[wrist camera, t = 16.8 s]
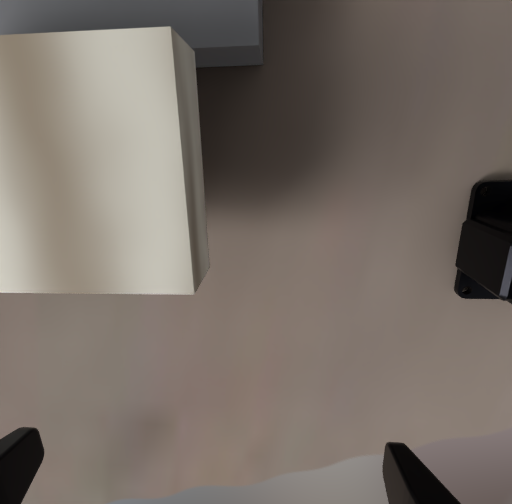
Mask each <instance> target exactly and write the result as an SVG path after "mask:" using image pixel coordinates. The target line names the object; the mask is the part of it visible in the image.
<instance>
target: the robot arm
mask: <svg viewBox="0 0 512 504" xmlns="http://www.w3.org/2000/svg"><path fill="white" fill-rule="evenodd" d="M484 187H486V188H487V191H486V193H485V194H484V195H481V190H482V188H484ZM456 267H457V268H458V269H457V275H456V280H455V286H454V291H455V292H456V294H457V295H459V296H460V297H461V298H465V299H501V300H504V301H508V302H509V303H511V304H512V180H490V181H479V182H477V183H476V184H475V185H474V186H473V188H472V190H471V195H470V201H469V207H468V212H467V218H466V221H465V222H464V223H463V224H462V230H461V236H460V241H459V247H458V253H457V259H456ZM467 286H468V289H467V290H466V291H463V292H462V290H463V288H464V287H467ZM43 457H44V448H43V444H42V441H41V437H40V434H39V431H38V430H37V429H36V428H30V427H22V428H18V429H17V430H15V431H13V432H12V433H10V434H8V435H7V436H5V437H3V438H2V439H0V504H21V502H22V500H23V498H24V497H25V495H26V493H27V491H28V489H29V487H30V485H31V483H32V481H33V479H34V477H35V475H36V473H37V471H38V469H39V467H40V465H41V463H42V460H43ZM383 478H384V482H385V487H386V492H387V497H388V501H389V504H461V503H460V502H459V501H458V500H457V499H456V498H455V497H454V496H453V495H452V494H451V493H450V492H449V490H448V489H447V488H445V486H444V485H443V484H442V483H441V482H440V481H439V480H438V479H437V478H436V477H435V476H434V474H433V473H432V472H431V471H430V470H429V469H428V468H427V467H426V466H425V465H424V464H423V463H422V462H421V461H420V460H419V459H418V457H417V456H416V455H415V454H414V453H413V452H412V451H411V450H410V449H409V448H408V447H407V446H406V445H405V444H404V443H398V442H388V443H386V446H385V452H384V460H383Z"/></svg>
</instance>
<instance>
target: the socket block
mask: <svg viewBox="0 0 512 504" xmlns="http://www.w3.org/2000/svg"><path fill="white" fill-rule="evenodd" d="M168 26H171V27H172V28H173V29H174V31H175V32H176V33H177V34H178V35H179V36H180V37H181V38H182V39H183V40H184V41H185V42H186V43H187V44H188V45H189V46H190V47H191V48H192V49H193V50H194V52H195V65H196V68H198V67H222V66H246V65H263V15H262V0H0V35H11V34H31V33H50V32H70V31H90V30H109V29H129V28H149V27H168Z"/></svg>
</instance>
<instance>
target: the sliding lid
mask: <svg viewBox="0 0 512 504" xmlns="http://www.w3.org/2000/svg"><path fill="white" fill-rule="evenodd" d="M209 268H210V263H209V249H208V235H207V220H206V206H205V192H204V178H203V164H202V150H201V136H200V121H199V107H198V93H197V79H196V65H195V52H194V50H193V49H192V48H191V47H190V46H189V45H188V44H187V43H186V42H185V41H184V40H183V39H182V38H181V37H180V36H179V35H178V34H177V33H176V32H175V31H174V29H173V28H172V27H171V26H168V27H149V28H129V29H109V30H90V31H70V32H50V33H31V34H11V35H0V293H87V294H192V295H194V294H195V292H196V291H197V289H198V287H199V285H200V284H201V282H202V280H203V278H204V277H205V275H206V273H207V271H208V269H209Z"/></svg>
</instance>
